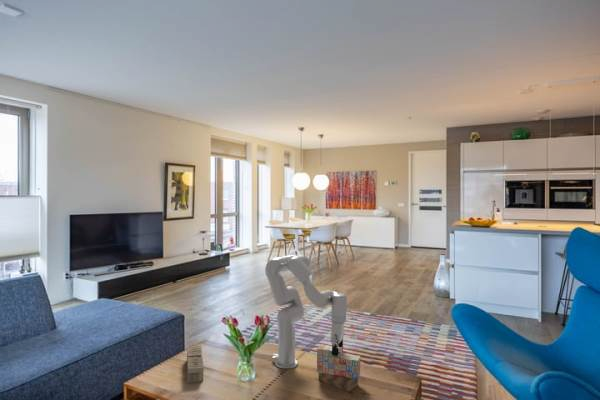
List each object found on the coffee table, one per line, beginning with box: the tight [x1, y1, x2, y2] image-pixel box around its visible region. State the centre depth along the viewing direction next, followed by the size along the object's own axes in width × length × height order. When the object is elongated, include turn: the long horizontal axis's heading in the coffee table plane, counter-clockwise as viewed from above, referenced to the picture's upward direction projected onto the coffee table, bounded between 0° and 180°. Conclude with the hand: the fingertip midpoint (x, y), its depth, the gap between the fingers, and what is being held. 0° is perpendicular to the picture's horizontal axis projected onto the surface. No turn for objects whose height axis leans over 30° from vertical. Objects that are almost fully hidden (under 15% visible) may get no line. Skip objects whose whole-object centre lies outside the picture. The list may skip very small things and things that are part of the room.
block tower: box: [186, 345, 205, 384], centre depth 194 cm, size 8×8×29 cm
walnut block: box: [318, 372, 359, 392], centre depth 184 cm, size 18×9×5 cm, turn 51°
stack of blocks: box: [316, 344, 361, 380], centre depth 184 cm, size 21×6×12 cm, turn 69°
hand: (337, 351), depth 185 cm, fingers open, 9 cm apart
